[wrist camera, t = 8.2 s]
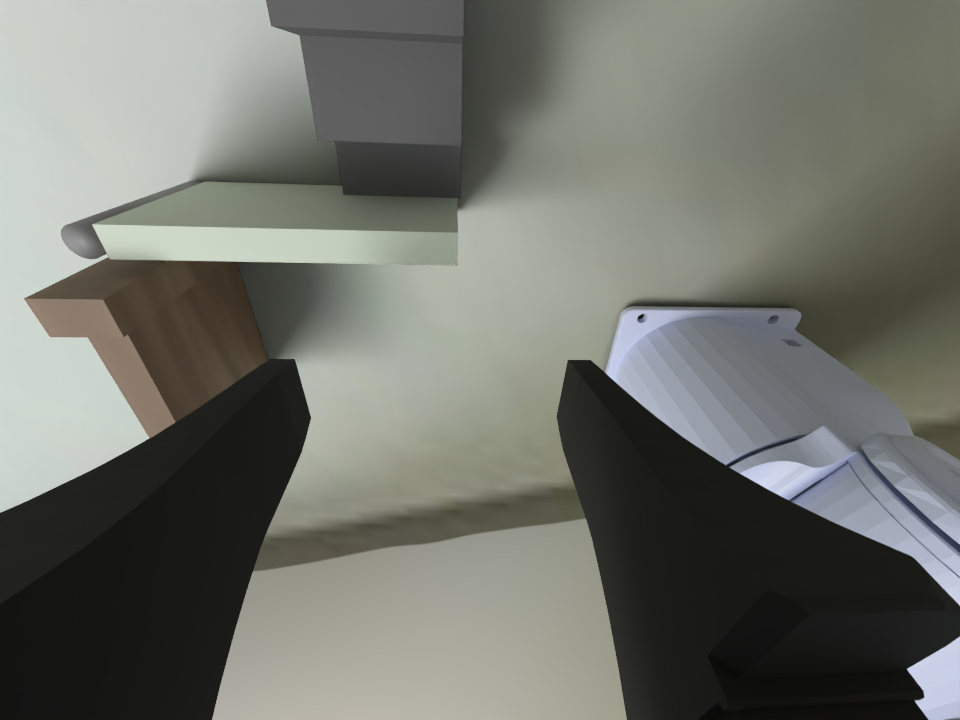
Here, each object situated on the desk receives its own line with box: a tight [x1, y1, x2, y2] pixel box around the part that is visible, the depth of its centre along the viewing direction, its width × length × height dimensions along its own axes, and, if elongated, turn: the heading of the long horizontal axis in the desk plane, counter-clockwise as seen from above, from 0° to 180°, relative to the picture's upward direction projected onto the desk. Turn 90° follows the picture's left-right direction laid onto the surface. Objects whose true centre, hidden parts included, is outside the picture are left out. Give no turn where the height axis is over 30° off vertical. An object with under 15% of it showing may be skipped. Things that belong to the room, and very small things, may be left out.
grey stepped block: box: [266, 0, 464, 198], centre depth 12 cm, size 7×4×6 cm, turn 178°
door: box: [61, 181, 458, 266], centre depth 14 cm, size 11×1×6 cm, turn 88°
